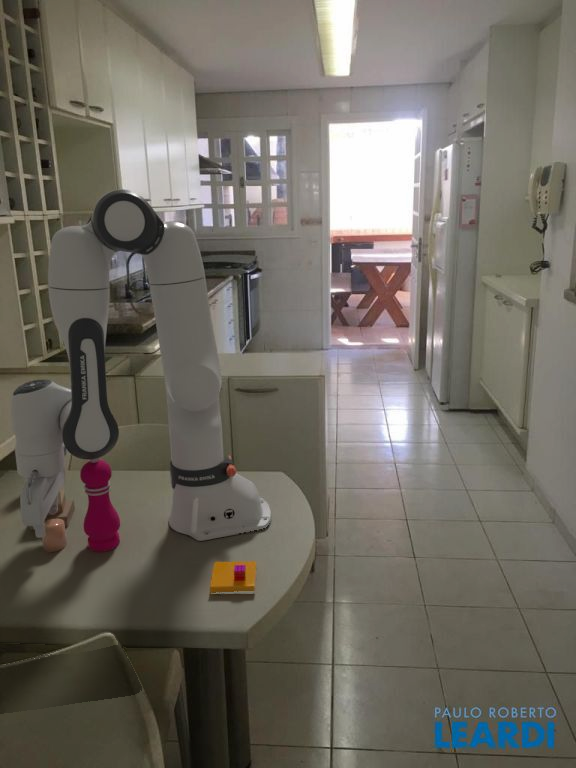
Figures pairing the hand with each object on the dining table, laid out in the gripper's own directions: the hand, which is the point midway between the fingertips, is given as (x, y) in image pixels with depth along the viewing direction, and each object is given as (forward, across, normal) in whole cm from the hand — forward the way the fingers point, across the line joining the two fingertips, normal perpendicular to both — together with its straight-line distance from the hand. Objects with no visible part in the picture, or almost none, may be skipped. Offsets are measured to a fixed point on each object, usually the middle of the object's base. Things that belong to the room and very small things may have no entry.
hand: (47, 524), depth 128 cm
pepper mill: (+5, -1, -11) cm, 12 cm away
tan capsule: (+5, 0, -1) cm, 5 cm away
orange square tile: (+5, -18, -37) cm, 42 cm away
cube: (+2, +12, +2) cm, 12 cm away
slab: (+6, +12, +2) cm, 13 cm away
